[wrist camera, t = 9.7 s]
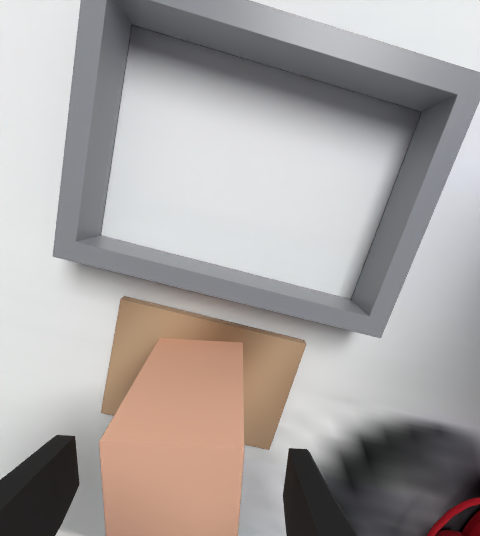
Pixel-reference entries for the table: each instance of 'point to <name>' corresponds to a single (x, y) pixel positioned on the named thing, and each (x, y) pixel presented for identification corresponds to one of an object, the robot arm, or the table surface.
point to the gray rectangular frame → (288, 59)
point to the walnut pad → (208, 329)
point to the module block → (177, 444)
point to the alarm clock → (475, 532)
